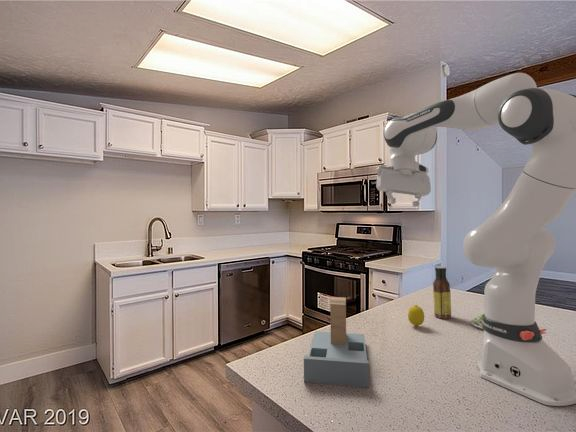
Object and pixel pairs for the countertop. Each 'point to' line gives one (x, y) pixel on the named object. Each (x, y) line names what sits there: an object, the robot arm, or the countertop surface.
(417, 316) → the lemon
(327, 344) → the deck
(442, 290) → the sauce bottle
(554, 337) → the countertop surface
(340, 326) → the block
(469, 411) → the countertop surface
